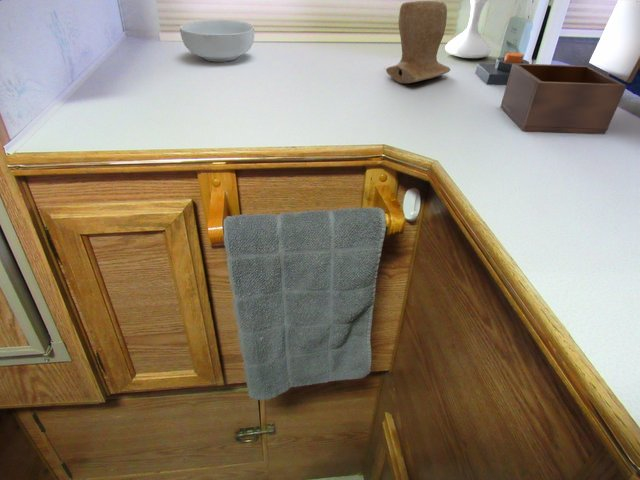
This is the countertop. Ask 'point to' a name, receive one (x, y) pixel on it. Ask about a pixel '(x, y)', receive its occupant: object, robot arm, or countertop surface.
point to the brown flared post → (420, 41)
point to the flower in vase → (470, 37)
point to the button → (513, 57)
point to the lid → (620, 42)
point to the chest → (561, 98)
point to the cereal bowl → (218, 39)
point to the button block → (496, 71)
